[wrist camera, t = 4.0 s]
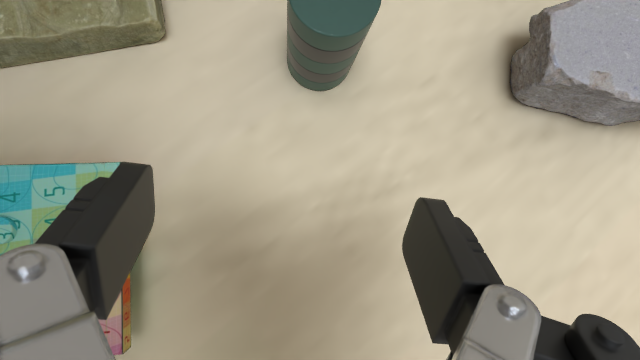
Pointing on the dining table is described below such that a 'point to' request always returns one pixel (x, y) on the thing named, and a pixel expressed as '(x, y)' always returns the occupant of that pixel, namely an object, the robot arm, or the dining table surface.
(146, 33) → the decorative tile
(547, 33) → the decorative stone
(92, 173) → the puzzle game
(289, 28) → the chip column
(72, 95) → the dining table surface
